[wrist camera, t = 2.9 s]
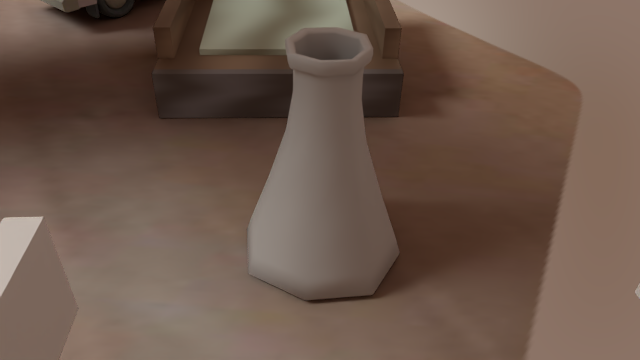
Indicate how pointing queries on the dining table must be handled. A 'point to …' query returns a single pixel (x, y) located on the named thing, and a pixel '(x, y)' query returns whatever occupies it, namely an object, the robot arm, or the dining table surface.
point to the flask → (323, 180)
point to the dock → (262, 55)
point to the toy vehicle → (94, 6)
